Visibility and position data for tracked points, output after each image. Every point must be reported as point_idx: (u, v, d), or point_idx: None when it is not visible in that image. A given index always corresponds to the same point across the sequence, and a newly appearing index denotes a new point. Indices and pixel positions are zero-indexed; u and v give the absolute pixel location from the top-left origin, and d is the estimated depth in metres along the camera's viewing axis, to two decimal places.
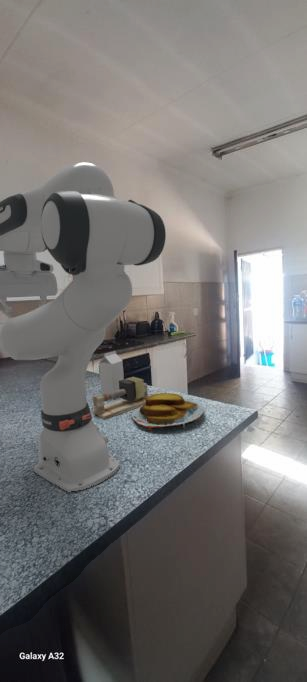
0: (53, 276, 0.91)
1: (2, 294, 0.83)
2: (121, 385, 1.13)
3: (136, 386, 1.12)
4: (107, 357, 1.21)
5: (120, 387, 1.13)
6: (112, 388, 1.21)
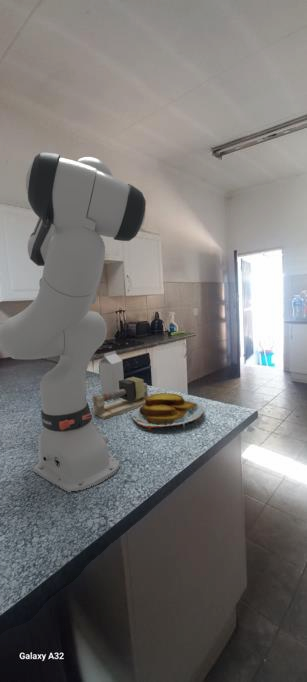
0: None
1: None
2: (121, 385, 1.13)
3: (136, 386, 1.12)
4: (107, 357, 1.21)
5: (120, 387, 1.13)
6: (112, 388, 1.21)
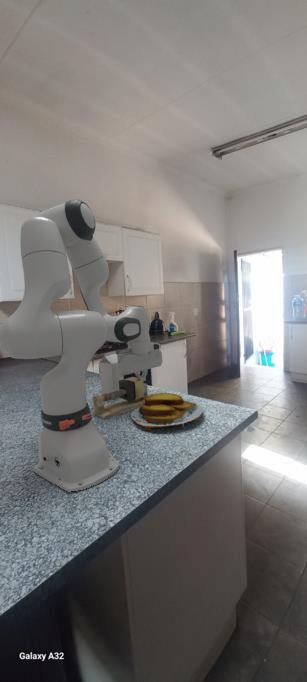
0: (160, 352, 1.19)
1: (130, 371, 1.10)
2: (121, 385, 1.13)
3: (136, 386, 1.11)
4: (107, 357, 1.21)
5: (120, 387, 1.13)
6: (112, 388, 1.21)
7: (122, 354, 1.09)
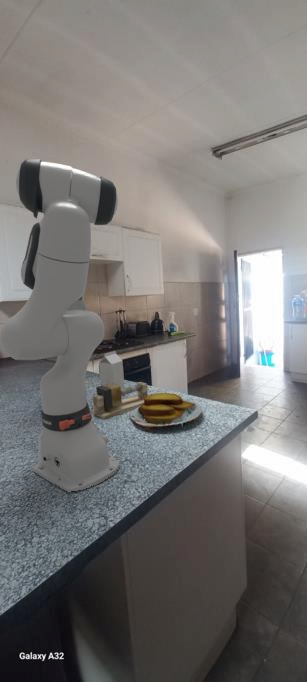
0: (84, 303, 1.16)
1: None
2: (98, 392, 1.06)
3: (112, 393, 1.05)
4: (107, 357, 1.21)
5: (98, 394, 1.07)
6: None
7: None
